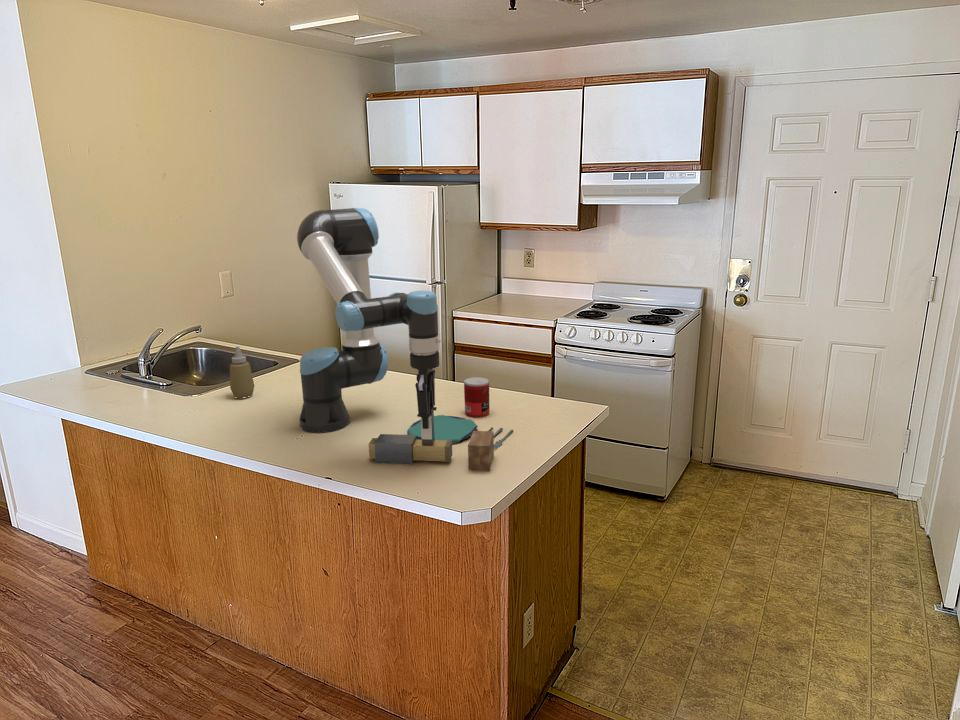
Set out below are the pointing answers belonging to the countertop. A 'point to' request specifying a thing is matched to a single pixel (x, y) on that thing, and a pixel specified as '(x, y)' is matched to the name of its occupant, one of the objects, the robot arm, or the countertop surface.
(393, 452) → the sleeve
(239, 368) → the squeeze bottle
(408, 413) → the countertop surface
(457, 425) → the cutlery set
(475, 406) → the canned food
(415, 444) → the gray and tan bar
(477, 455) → the socket block
